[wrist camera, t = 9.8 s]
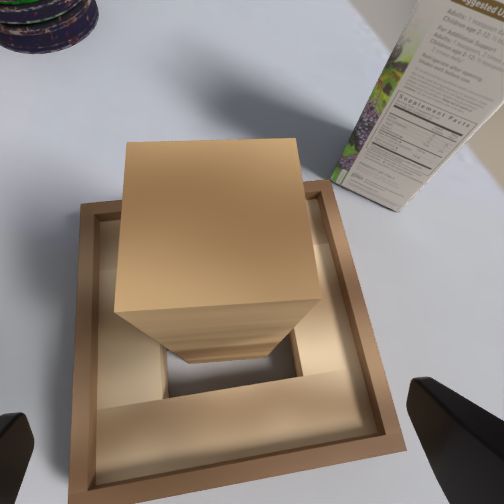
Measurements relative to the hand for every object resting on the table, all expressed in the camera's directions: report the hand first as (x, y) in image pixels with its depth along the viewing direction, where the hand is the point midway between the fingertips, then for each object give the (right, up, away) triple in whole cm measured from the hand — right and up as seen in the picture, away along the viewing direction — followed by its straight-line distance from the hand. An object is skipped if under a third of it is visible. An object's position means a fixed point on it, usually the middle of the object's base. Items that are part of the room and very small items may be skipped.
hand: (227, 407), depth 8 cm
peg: (-1, -1, +13) cm, 13 cm away
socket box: (-1, -1, +13) cm, 13 cm away
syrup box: (+10, +10, +18) cm, 23 cm away
